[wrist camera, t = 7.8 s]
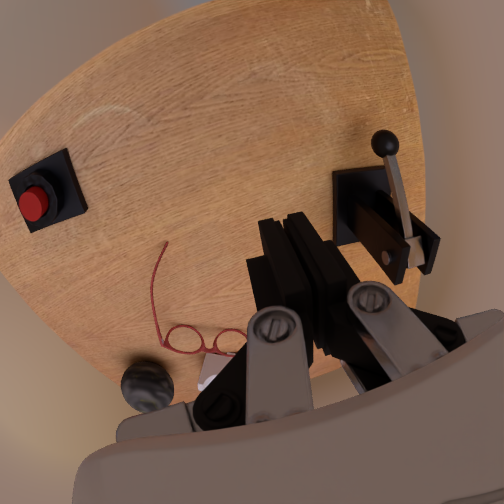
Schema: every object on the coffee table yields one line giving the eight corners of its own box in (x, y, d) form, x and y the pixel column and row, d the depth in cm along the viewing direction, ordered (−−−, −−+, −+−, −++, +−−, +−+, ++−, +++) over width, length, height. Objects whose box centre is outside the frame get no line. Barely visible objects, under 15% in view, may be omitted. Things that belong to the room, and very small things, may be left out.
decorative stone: (147, 344, 42) (141, 394, 34) (185, 369, 47) (186, 415, 39) (114, 360, 44) (107, 405, 36) (151, 382, 49) (149, 424, 41)
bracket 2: (332, 171, 30) (393, 223, 19) (387, 165, 30) (456, 210, 19) (332, 242, 35) (376, 309, 25) (382, 231, 36) (433, 289, 25)
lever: (362, 136, 24) (375, 125, 22) (385, 135, 25) (399, 125, 22) (391, 267, 25) (407, 270, 22) (413, 261, 25) (429, 263, 22)
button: (33, 217, 24) (26, 224, 22) (22, 191, 22) (14, 197, 20) (53, 209, 24) (46, 216, 23) (41, 181, 22) (34, 187, 20)
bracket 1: (207, 348, 46) (197, 383, 39) (247, 355, 45) (240, 391, 39) (208, 382, 53) (201, 411, 47) (241, 388, 53) (236, 418, 46)
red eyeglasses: (154, 326, 40) (150, 351, 36) (156, 239, 31) (149, 264, 27) (259, 334, 44) (264, 358, 40) (291, 256, 36) (301, 281, 32)
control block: (34, 228, 27) (24, 240, 25) (12, 176, 23) (0, 185, 20) (88, 208, 28) (79, 220, 25) (66, 147, 23) (54, 154, 20)
